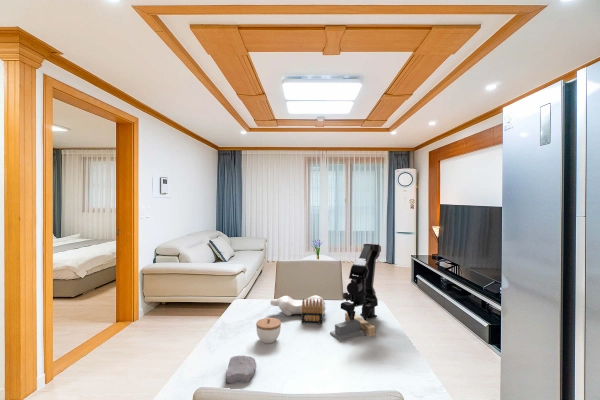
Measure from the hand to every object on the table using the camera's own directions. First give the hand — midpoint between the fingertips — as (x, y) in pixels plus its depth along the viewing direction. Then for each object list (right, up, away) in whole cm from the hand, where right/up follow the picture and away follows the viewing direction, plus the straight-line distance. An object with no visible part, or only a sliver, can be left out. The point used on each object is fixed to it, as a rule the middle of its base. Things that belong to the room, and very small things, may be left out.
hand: (358, 321), depth 143 cm
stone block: (-49, -2, -39) cm, 63 cm away
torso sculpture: (-30, -3, +17) cm, 34 cm away
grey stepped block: (-7, -2, -8) cm, 10 cm away
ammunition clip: (-22, -3, +5) cm, 23 cm away
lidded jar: (-42, -2, -14) cm, 45 cm away
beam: (0, -3, 0) cm, 3 cm away
